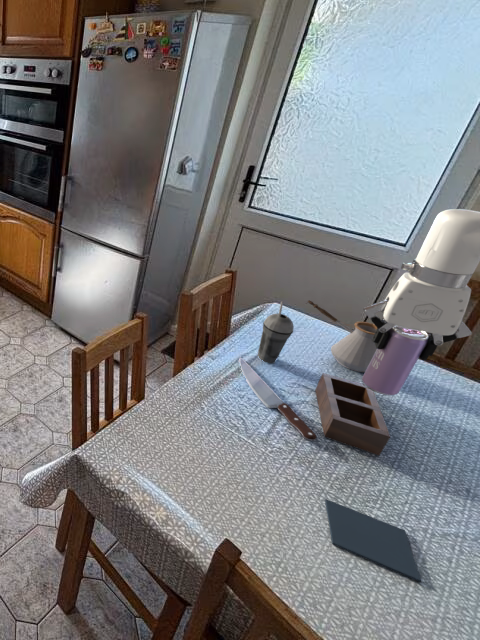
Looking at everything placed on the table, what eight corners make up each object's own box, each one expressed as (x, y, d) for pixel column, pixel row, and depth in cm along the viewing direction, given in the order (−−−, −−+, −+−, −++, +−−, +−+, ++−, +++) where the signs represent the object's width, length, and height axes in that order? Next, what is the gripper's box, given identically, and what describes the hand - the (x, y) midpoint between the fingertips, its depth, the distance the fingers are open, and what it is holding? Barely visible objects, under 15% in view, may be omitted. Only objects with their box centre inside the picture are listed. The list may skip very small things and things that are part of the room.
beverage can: (403, 399, 86) (437, 342, 80) (368, 393, 88) (399, 335, 82) (388, 381, 91) (419, 325, 85) (355, 375, 93) (383, 319, 87)
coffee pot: (382, 365, 121) (404, 323, 115) (373, 382, 115) (395, 338, 109) (297, 332, 137) (312, 293, 130) (284, 345, 130) (299, 305, 124)
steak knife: (297, 442, 97) (300, 436, 96) (224, 359, 125) (226, 354, 124) (317, 443, 97) (320, 437, 96) (240, 360, 125) (242, 355, 124)
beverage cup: (284, 368, 121) (307, 311, 112) (255, 363, 123) (275, 306, 114) (276, 353, 127) (298, 298, 118) (249, 348, 129) (268, 294, 121)
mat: (403, 531, 79) (405, 530, 79) (420, 582, 71) (421, 581, 71) (324, 500, 85) (325, 498, 84) (332, 544, 77) (332, 542, 77)
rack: (315, 389, 113) (322, 372, 110) (362, 403, 108) (372, 386, 105) (324, 437, 99) (333, 418, 96) (379, 455, 94) (390, 437, 91)
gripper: (382, 271, 79) (347, 347, 87) (516, 295, 71) (465, 376, 78) (374, 257, 85) (342, 329, 93) (497, 277, 76) (451, 355, 84)
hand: (399, 350), depth 85 cm, fingers closed on beverage can, 6 cm apart
